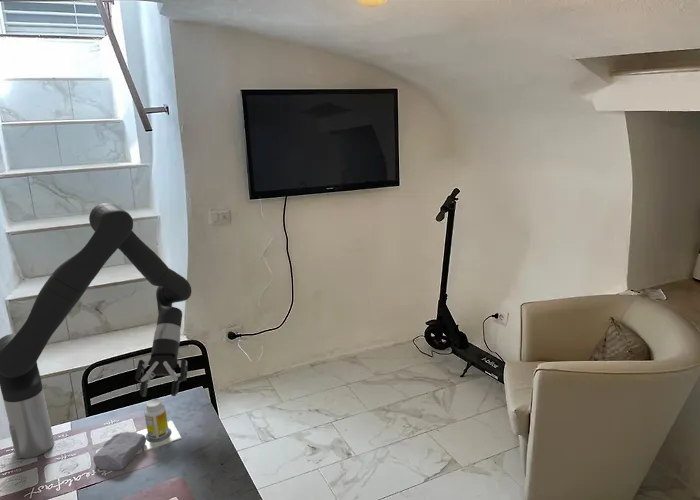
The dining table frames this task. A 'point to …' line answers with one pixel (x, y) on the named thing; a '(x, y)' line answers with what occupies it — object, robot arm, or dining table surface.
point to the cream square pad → (168, 438)
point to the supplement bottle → (156, 419)
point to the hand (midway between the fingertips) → (158, 395)
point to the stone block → (119, 451)
